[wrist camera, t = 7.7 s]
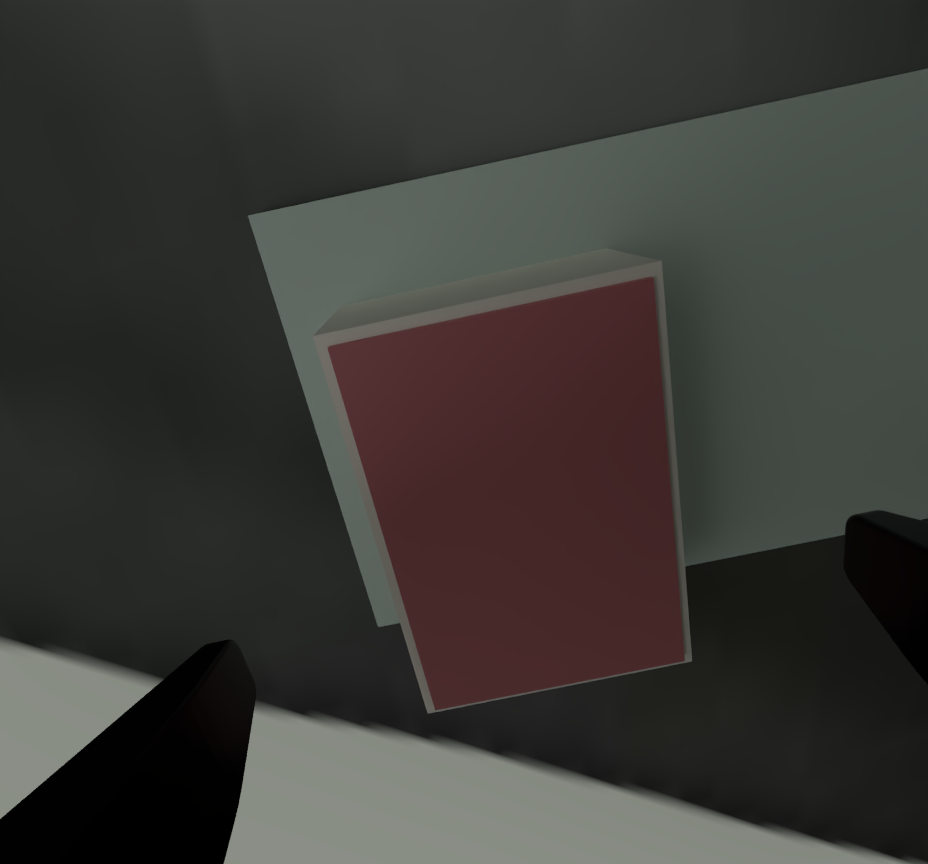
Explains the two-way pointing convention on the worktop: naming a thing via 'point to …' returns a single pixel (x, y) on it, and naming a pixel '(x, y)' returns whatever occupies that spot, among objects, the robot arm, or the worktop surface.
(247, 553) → the worktop surface
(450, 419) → the card deck
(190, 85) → the worktop surface
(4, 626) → the worktop surface
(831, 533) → the mat
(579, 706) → the worktop surface
